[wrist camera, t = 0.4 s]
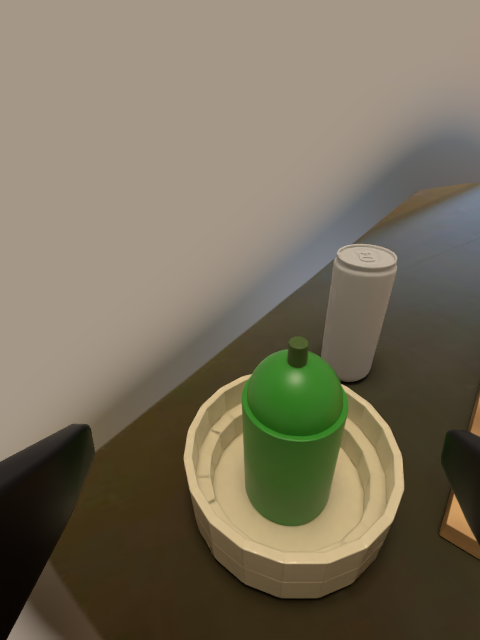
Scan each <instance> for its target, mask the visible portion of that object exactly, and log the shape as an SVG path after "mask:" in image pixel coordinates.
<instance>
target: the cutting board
mask: <svg viewBox="0 0 480 640" xmlns="http://www.w3.org/2000/svg"><path fill="white" fill-rule="evenodd" d="M467 431H469V432H471V433H473V434H475V435H477V436H479V437H480V386H479V390H478V394H477V397H476V401H475V405H474V408H473V412H472V415H471V419H470V423H469V426H468V430H467ZM439 535H440V536H441V537H443V538H445V539H446V540H448V541H450V542H451V543H453V544H455V545H456V546H458V547H460V548H461V549H463V550H465V551H466V552H468V553H470V554H471V555H473V556H475V557H476V558H478V559H480V546H479V544H478V542H477V540H476V539H475V537H474V535H473V533H472V531H471V529H470V527H469V525H468V523H467V521H466V519H465V517H464V514H463V512H462V510H461V508H460V505H459V503H458V501H457V499H456V497H455V494H454V492H453V490H452V488H451V492H450V495H449V499H448V503H447V506H446V510H445V514H444V517H443V521H442V525H441V528H440V532H439Z"/></svg>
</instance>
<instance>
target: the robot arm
mask: <svg viewBox="0 0 480 640" xmlns="http://www.w3.org/2000/svg"><path fill="white" fill-rule="evenodd" d="M94 456H95V449H94V443H93V438H92V432H91V428H90V426H89V425H87V424H71V425H69V426H68V427H66V428H64V429H62V430H60V431H58V432H56V433H54V434H52V435H50V436H48V437H46V438H45V439H43V440H41V441H39V442H37V443H35V444H33V445H31V446H29V447H27V448H26V449H24V450H22V451H20V452H18V453H16V454H14V455H12V456H10V457H8V458H7V459H5V460H3V461H1V462H0V640H7V638H8V636H9V634H10V632H11V630H12V628H13V626H14V624H15V622H16V620H17V619H18V617H19V615H20V613H21V611H22V609H23V607H24V605H25V603H26V601H27V599H28V597H29V595H30V594H31V592H32V590H33V588H34V586H35V584H36V582H37V580H38V578H39V576H40V575H41V573H42V571H43V569H44V567H45V565H46V563H47V561H48V559H49V557H50V555H51V554H52V552H53V550H54V548H55V546H56V544H57V542H58V540H59V538H60V536H61V534H62V532H63V531H64V529H65V527H66V525H67V523H68V521H69V519H70V516H71V514H72V512H73V510H74V507H75V505H76V502H77V500H78V497H79V495H80V492H81V490H82V487H83V485H84V482H85V480H86V478H87V475H88V473H89V470H90V468H91V465H92V463H93V460H94ZM441 463H442V467H443V470H444V472H445V474H446V476H447V479H448V481H449V483H450V485H451V488H452V490H453V492H454V494H455V497H456V499H457V501H458V503H459V505H460V508H461V510H462V512H463V514H464V517H465V519H466V521H467V523H468V525H469V527H470V529H471V531H472V533H473V535H474V537H475V539H476V540H477V542H478V544H479V546H480V437H479V436H477V435H475V434H473V433H471V432H469V431H467V430H449V431H448V432H447V433H446V436H445V441H444V445H443V450H442V455H441Z"/></svg>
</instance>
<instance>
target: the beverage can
mask: <svg viewBox="0 0 480 640" xmlns="http://www.w3.org/2000/svg"><path fill="white" fill-rule="evenodd" d="M396 262H397V256H396V255H395V253H393V252H392V251H390V250H388V249H386V248H383V247H380V246H375V245H369V244H353V245H347V246H344V247H342V248H340V249H339V250H338V251H337V257H336V258H335V260H334V266H333V273H332V280H331V288H330V295H329V302H328V309H327V316H326V323H325V330H324V337H323V345H322V352H321V358H322V359H324V360H325V361H326V362H327V363H328V364H329V365H330V366H331V367H332V368H333V370H334V371H335V373H336V374H337V376H338V378H339V380H340V381H344V382H354V381H358V380H360V379H362V378H364V377H365V376H366V375H367V374H368V373H369V371H370V369H371V365H372V361H373V357H374V353H375V350H376V346H377V342H378V339H379V335H380V332H381V328H382V325H383V321H384V317H385V313H386V309H387V306H388V302H389V298H390V294H391V290H392V286H393V282H394V279H395V275H396V271H397V266H396Z"/></svg>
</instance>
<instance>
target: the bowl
mask: <svg viewBox="0 0 480 640" xmlns="http://www.w3.org/2000/svg"><path fill="white" fill-rule="evenodd" d="M251 375H252V374H251ZM251 375H246V376H243V377H241V378H239V379H237V380H235V381H233V382H231V383H229V384H227V385H225V386H224V387H222V388H220V389H219V390H218V391H217V392H216V393H215V394H213V395H212V396H211V397H210V398H209V399H208V400H207V401H206V402H205V403H204V404H203V405H202V406H201V407H200V409H199V411H198V413H197V415H196V417H195V418H194V420H193V422H192V424H191V426H190V428H189V430H188V434H187V440H186V447H185V453H184V464H185V469H186V474H187V479H188V484H189V489H190V494H191V499H192V503H193V508H194V513H195V517H196V522H197V527H198V529H199V531H200V533H201V535H202V536H203V538H204V540H205V542H206V543H207V545H208V547H209V549H210V550H211V552H212V554H213V556H214V557H215V558H216V560H217V561H219V562H220V563H221V564H222V565H223V566H224V567H225V568H227V569H228V570H229V571H230V572H231V573H232V574H233V575H235V576H236V577H237V578H238V579H239V580H240V581H241V582H243V583H244V584H246V585H248V586H251V587H253V588H256V589H259V590H261V591H264V592H266V593H269V594H271V595H274V596H276V597H280V598H318V597H319V598H320V597H322V596H325V595H327V594H329V593H332V592H334V591H336V590H339V589H341V588H343V587H346V586H348V585H350V584H352V583H353V582H354V581H355V580H356V579H357V578H358V577H359V576H360V575H361V574H362V573H363V571H364V570H365V569H366V568H367V567H368V566H369V565H370V564H371V563H372V562H373V561H374V560H375V558H376V556H377V554H378V552H379V550H380V548H381V546H382V544H383V542H384V540H385V537H386V535H387V533H388V531H389V529H390V527H391V525H392V523H393V520H394V517H395V515H396V512H397V509H398V506H399V503H400V500H401V497H402V494H403V491H404V476H403V461H402V455H401V452H400V450H399V448H398V445H397V443H396V441H395V438H394V436H393V434H392V432H391V429H390V428H389V426H388V425H387V423H386V422H385V421H384V420H383V419H382V417H381V416H380V415H379V414H378V413H377V411H376V410H375V409H374V408H373V407H372V405H371V404H370V403H368V402H367V401H366V400H364V399H363V398H362V397H360V396H359V395H357V394H356V393H355V392H353V391H352V390H351V389H349V388H348V387H346V386H344V385H342V384H341V386H342V387H343V389H344V391H345V393H346V395H347V399H348V406H349V408H348V414H347V419H346V423H345V428H344V432H343V437H342V441H341V445H340V450H339V454H338V459H337V463H336V467H335V472H334V476H333V481H332V485H331V489H330V494H329V498H328V502H327V504H326V506H325V508H324V510H323V511H322V512H321V513H320V515H319V516H318V517H316V518H315V519H314V520H312V521H310V522H308V523H306V524H303V525H298V526H284V525H279V524H276V523H274V522H272V521H270V520H268V519H266V518H265V517H263V516H262V515H261V514H260V513H259V512H258V511H257V510H256V509H255V508H254V507H253V505H252V504H251V502H250V500H249V498H248V495H247V493H246V488H245V471H244V446H243V421H242V391H243V388H244V385H245V383H246V382H247V380H248V379H249V378H250V377H251Z"/></svg>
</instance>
